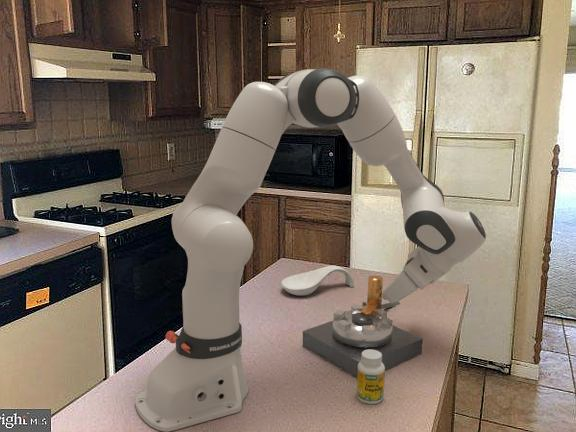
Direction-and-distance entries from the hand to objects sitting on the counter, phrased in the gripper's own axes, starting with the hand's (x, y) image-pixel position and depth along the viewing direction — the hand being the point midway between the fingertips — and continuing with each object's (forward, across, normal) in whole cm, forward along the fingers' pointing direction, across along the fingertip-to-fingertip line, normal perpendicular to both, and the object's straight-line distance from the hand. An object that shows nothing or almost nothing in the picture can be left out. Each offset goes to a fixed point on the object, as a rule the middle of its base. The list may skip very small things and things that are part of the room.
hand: (384, 296), depth 129 cm
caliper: (+11, -13, +4) cm, 18 cm away
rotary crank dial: (+6, +8, +3) cm, 10 cm away
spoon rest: (+27, -21, -12) cm, 37 cm away
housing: (+9, +10, +6) cm, 15 cm away
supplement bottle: (+3, +28, +12) cm, 31 cm away
